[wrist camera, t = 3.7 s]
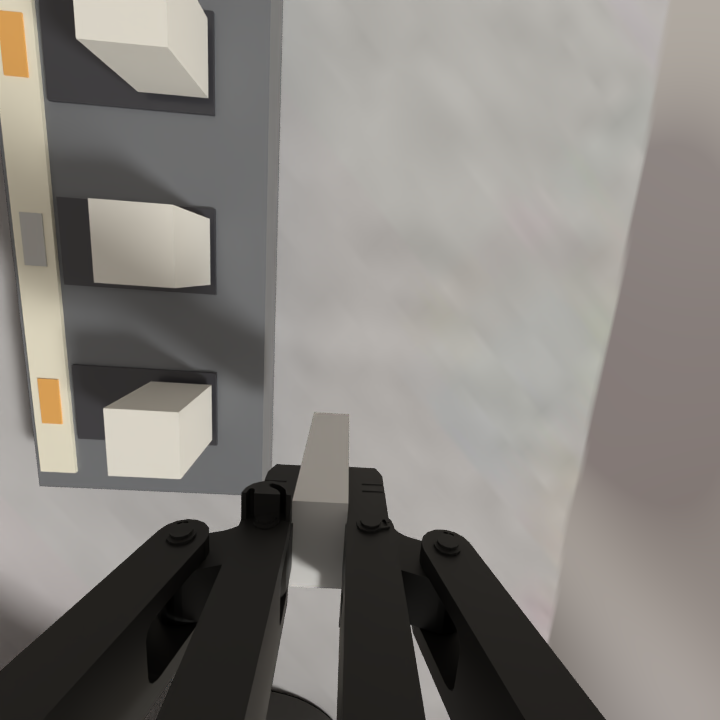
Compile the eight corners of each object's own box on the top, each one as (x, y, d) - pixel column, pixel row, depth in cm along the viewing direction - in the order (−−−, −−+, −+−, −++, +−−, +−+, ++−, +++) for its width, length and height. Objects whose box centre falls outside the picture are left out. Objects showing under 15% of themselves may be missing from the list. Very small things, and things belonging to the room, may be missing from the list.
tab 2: (210, 284, 19) (175, 288, 15) (146, 280, 19) (93, 282, 15) (209, 219, 18) (172, 204, 14) (143, 213, 18) (87, 197, 14)
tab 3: (211, 439, 21) (180, 479, 17) (153, 437, 20) (108, 475, 17) (211, 384, 20) (178, 412, 16) (151, 381, 20) (103, 408, 16)
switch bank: (271, 469, 25) (260, 498, 22) (76, 460, 24) (35, 488, 21) (283, -14, 19) (271, -70, 16) (30, -41, 19) (-35, -104, 16)
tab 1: (208, 98, 17) (167, 47, 13) (138, 91, 17) (75, 38, 13) (207, 18, 17) (164, -60, 13) (134, 11, 16) (67, -71, 12)
